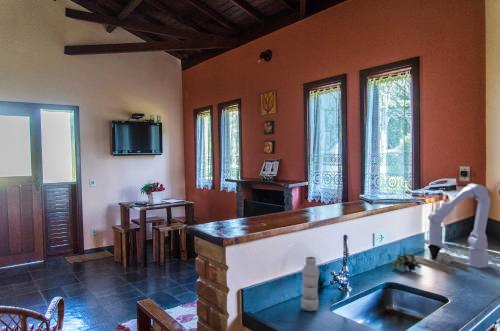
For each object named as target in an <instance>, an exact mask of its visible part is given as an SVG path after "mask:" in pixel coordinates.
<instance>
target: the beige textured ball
mask: <svg viewBox="0 0 500 331" xmlns="http://www.w3.org/2000/svg"><path fill="white" fill-rule="evenodd" d="M437 256H438V257H437V259H436V260H434V262H437V263H441V264H444V265H447V266H450V267H451V265H450V264H452V263H451V262H452V260H455V257H452V256H451V255H450V253H448V252H447V250H445V252H440V251H439V253H438V255H437Z"/></svg>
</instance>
